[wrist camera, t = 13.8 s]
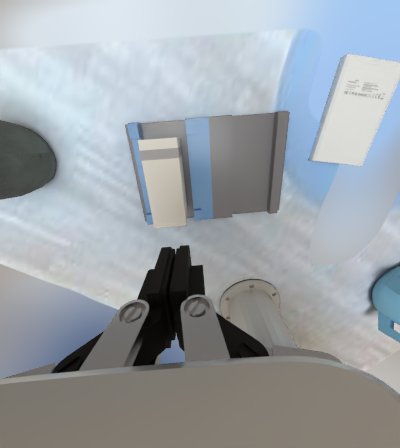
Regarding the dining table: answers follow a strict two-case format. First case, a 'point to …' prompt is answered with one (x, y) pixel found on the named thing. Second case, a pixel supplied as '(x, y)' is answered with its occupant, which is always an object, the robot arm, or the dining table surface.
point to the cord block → (164, 180)
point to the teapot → (388, 302)
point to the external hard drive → (354, 109)
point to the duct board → (221, 162)
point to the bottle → (23, 161)
